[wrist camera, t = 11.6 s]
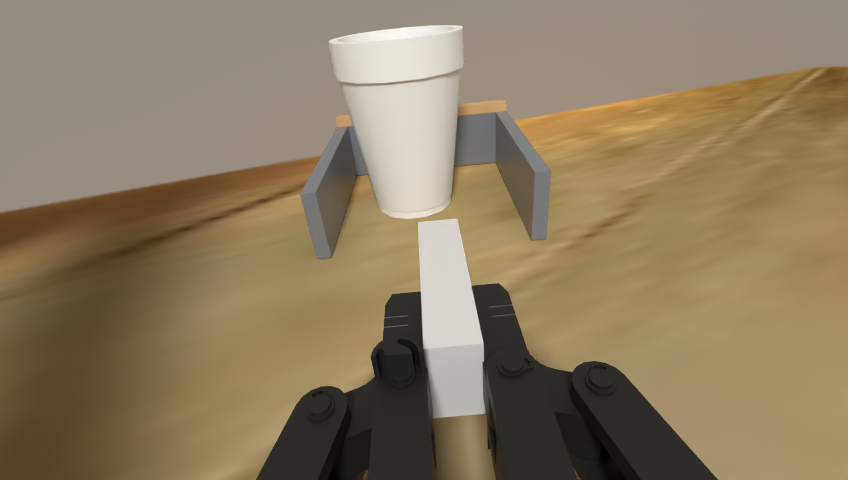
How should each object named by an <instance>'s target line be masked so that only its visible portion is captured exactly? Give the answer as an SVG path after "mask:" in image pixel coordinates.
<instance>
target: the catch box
mask: <svg viewBox="0 0 848 480" xmlns="http://www.w3.org/2000/svg"><path fill="white" fill-rule="evenodd" d="M336 123H337V129H336V131H335V133H334V134H333V136H332V138H331V140H330V141H329V143H328V145H327V147H326V148H325V150H324V152H323V154H322V156H321V157H320V159H319V161H318V163H317V164H316V166H315V168H314V170H313V172H312V173H311V175H310V177H309V179H308V181H307V182H306V184H305V186H304V188H303V189H302V191H301V193H300V196H301V200H302V204H303V208H304V211H305V215H306V219H307V222H308V226H309V230H310V234H311V237H312V241H313V245H314V248H315V252H316V256H317V259H320V258H331V257H332V254H333V251H334V248H335V244H336V241H337V238H338V235H339V231H340V228H341V225H342V222H343V219H344V215H345V212H346V209H347V206H348V203H349V199H350V196H351V193H352V190H353V186H354V183H355V180H356V177H357V175H367V174H368V172H367V169H366V166H365V163H364V160H363V156H362V153H361V150H360V147H359V144H358V140H357V137H356V134H355V131H354V128H353V124H352V121H351V118H350V115H343V116H337V117H336ZM485 163H496V164H497V166H498V169H499V171H500V173H501V175H502V177H503V179H504V182H505V184H506V186H507V188H508V190H509V192H510V195H511V197H512V199H513V201H514V203H515V205H516V208H517V210H518V212H519V214H520V216H521V218H522V221H523V223H524V225H525V227H526V229H527V231H528V234H529V236H530V238H531V240H539V239H546V233H547V219H548V205H549V191H550V177H551V171H550V169H549V168H548V166H547V165H546V164H545V162H544V161H543V160H542V158H541V157H540V156H539V154H538V153H537V152H536V150H535V149H534V148H533V146H532V145H531V144H530V142H529V141H528V140H527V138H526V137H525V136H524V134H523V133H522V131H521V130H520V129H519V127H518V126H517V125H516V123H515V122H514V121H513V119H512V118H511V117H510V115H509V114H508V113H507V111H506V101H505V100H497V101H487V102H476V103H466V104H458V118H457V131H456V144H455V158H454V166H464V165H474V164H485Z"/></svg>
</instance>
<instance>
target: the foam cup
mask: <svg viewBox="0 0 848 480" xmlns="http://www.w3.org/2000/svg"><path fill="white" fill-rule="evenodd" d="M328 44H329V49H330V54H331V60H332V65H333V70H334V75H335V78H336V79H338V80H339V83H340V86H341V89H342V92H343V96H344V99H345V102H346V105H347V109H348V112H349V115H350V118H351V121H352V124H353V128H354V131H355V134H356V137H357V140H358V144H359V147H360V150H361V153H362V156H363V160H364V163H365V166H366V169H367V172H368V176H369V179H370V182H371V185H372V188H373V191H374V195H375V198H376V200H377V202H378V206H379V208H380V210H381V212H382V213H384V214H386V215H389V216H391V217H394V218H405V219H412V218H420V217H427V216H430V215H433V214H435V213H438V212H441V211H442V210H444V209H445V208H446V207H447V206H448V205H450V202H451V193H452V184H453V171H454V158H455V144H456V131H457V118H458V104H459V91H460V78H461V68H462V67H463V65H464V43H463V26H455V25H436V26H419V27H406V28H397V29H388V30H379V31H372V32H366V33H359V34H353V35H348V36H344V37H339V38H335V39H333V40H330V41H328Z"/></svg>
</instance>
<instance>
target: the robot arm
mask: <svg viewBox="0 0 848 480" xmlns="http://www.w3.org/2000/svg"><path fill="white" fill-rule="evenodd" d="M418 233H419V256H420V280H421V292H411V293H400V294H392V296H391V297H390V299H389V300H388V302H387V303H386V305H385V319H384V332H383V341H381V342H379V344H378V345H377V346H376V347H375V348H374V349H373V352H372V355H371V360H372V365H373V369H374V374H375V377H374V378H373V379H372V380H371V381H370V382H368V383H367V384H366V385H364V386H361V387H359V388H357V389H354V390H352V391H349V392H346V393H343V392H342V391H341V390H340V389H339V388H335V387H332V386H325V387H319V388H316V389H314V390H311V391H310V392H308V393H307V394H306V395H304V396H303V397H302V398H301V399H300V401H299V402H298V403H297V404H296V406H295V408H294V410H293V412H292V414H291V415H290V417H289V419H288V421H287V423H286V425H285V427H284V428H283V430H282V432H281V434H280V436H279V438H278V440H277V442H276V443H275V445H274V447H273V449H272V451H271V453H270V455H269V456H268V458H267V460H266V462H265V464H264V466H263V468H262V469H261V471H260V473H259V475H258V477H257V479H256V480H362V478H363V475H364V471H366V470H368V469H369V470H368V480H437V465H436V449H435V435H434V427H433V418H441V417H452V416H464V415H475V414H485V410H486V415H487V426H488V449H491V454H492V460H493V466H494V471H495V477H496V480H577V478H576V475H575V472H574V469H573V467H574V468H575V470H576V472H577V473H578V475H579V477H580V478H581V480H718V479H717V478H716V477H715V476H714V475H713V474H712V473H711V472H710V470H709V469H708V468H707V467H706V466H705V465H704V464H703V463H702V461H701V460H700V459H699V458H698V457H697V456H696V455H695V454H694V452H693V451H692V450H691V449H690V448H689V447H688V446H687V445H686V443H685V442H684V441H683V440H682V439H681V438H680V437H679V436H678V434H677V433H676V432H675V431H674V430H673V429H672V428H671V427H670V425H669V424H668V423H667V422H666V421H665V420H664V419H663V418H662V417H661V415H660V414H659V413H658V412H657V411H656V410H655V409H654V408H653V406H652V405H651V404H650V403H649V402H648V401H647V400H646V399H645V397H644V396H643V395H642V394H641V393H640V392H639V391H638V390H637V388H636V387H635V386H634V385H633V384H632V383H631V382H630V381H629V379H628V378H627V377H626V376H625V375H624V374H623V373H622V372H620V371H619V370H618V369H617V368H615V367H613V366H611V365H609V364H606V363H602V362H596V361H592V362H584V363H582V364H580V365H578V366H577V367H576V368H575V369H574V371H573V372H568V371H563V370H557V369H553V368H549V367H546V366H544V365H542V364H540V363H539V362H537V361H536V360H535V359H534V358H533V357H532V356H531V355H530V354H529V352H528V350H527V347H526V344H525V341H524V338H523V335H522V332H521V329H520V326H519V323H518V320H517V317H516V315H515V311H514V308H513V306H512V302H511V299H510V296H509V293H508V292H507V291H506V290H505V289H504V288H503V287H502V286H501V285H500V284H499V283H497V284H486V285H475V286H471V282H470V277H469V273H468V268H467V263H466V258H465V254H464V249H463V244H462V240H461V235H460V230H459V226H458V221H457V219H447V220H437V221H426V222H418ZM572 465H573V466H572Z"/></svg>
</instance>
